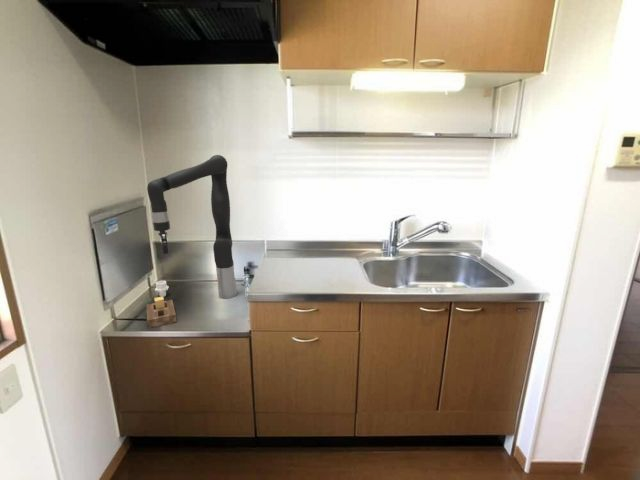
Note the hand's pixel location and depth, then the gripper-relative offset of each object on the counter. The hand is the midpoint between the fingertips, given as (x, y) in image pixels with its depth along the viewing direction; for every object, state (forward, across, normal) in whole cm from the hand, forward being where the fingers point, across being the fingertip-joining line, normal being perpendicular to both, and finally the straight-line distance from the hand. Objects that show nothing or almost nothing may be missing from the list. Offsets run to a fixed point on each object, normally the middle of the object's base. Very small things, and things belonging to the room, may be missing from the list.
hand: (165, 251), depth 179 cm
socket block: (+28, -16, +6) cm, 33 cm away
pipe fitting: (+28, +10, +4) cm, 30 cm away
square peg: (+28, -12, +6) cm, 31 cm away
